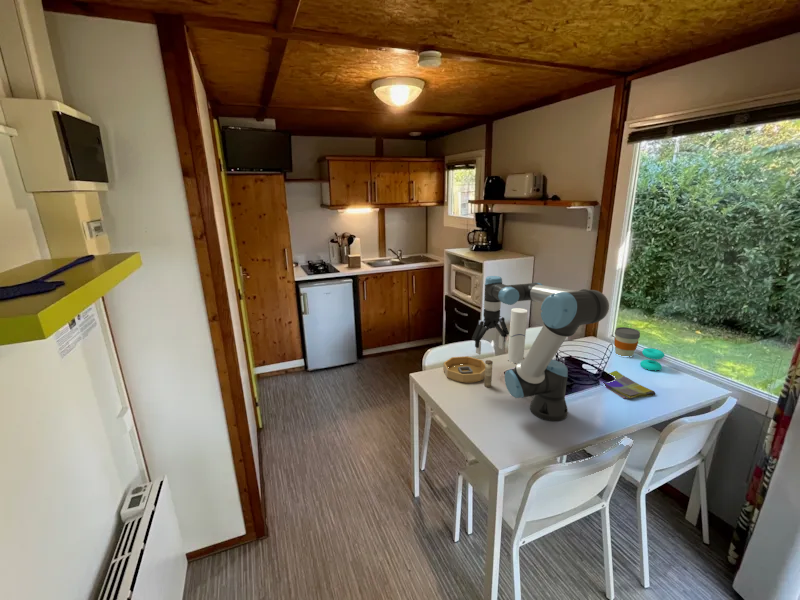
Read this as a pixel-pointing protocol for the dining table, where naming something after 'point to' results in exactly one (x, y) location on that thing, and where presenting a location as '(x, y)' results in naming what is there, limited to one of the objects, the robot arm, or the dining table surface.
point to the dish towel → (627, 387)
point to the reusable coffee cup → (626, 341)
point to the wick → (488, 373)
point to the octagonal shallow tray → (464, 369)
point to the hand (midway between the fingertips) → (489, 351)
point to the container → (517, 334)
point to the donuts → (652, 354)
